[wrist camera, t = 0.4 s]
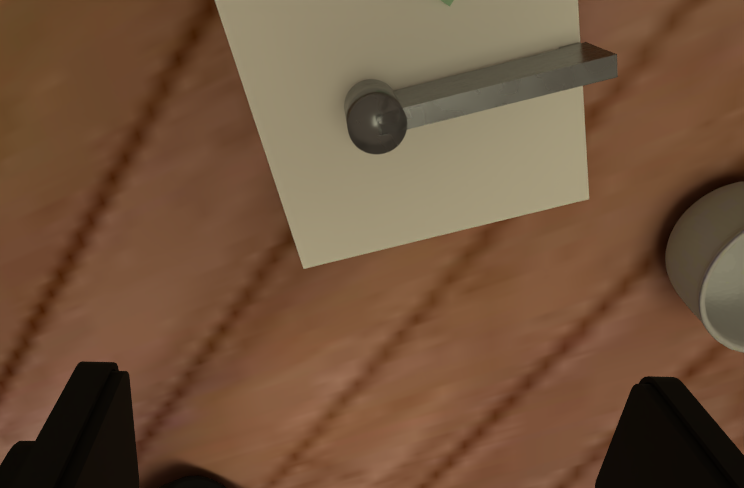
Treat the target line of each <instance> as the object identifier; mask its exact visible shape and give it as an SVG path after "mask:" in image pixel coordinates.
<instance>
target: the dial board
mask: <svg viewBox="0 0 744 488" xmlns="http://www.w3.org/2000/svg"><path fill="white" fill-rule="evenodd" d="M215 3H216V6H217V9H218V12H219V15H220V18H221V21H222V24H223V27H224V30H225V33H226V36H227V39H228V42H229V45H230V48H231V51H232V54H233V57H234V60H235V63H236V66H237V69H238V72H239V75H240V78H241V81H242V84H243V87H244V90H245V93H246V96H247V99H248V102H249V105H250V108H251V111H252V114H253V118H254V121H255V124H256V127H257V130H258V133H259V136H260V139H261V142H262V145H263V148H264V151H265V154H266V157H267V160H268V163H269V166H270V169H271V172H272V175H273V178H274V181H275V184H276V187H277V190H278V193H279V196H280V199H281V202H282V205H283V208H284V211H285V214H286V217H287V220H288V223H289V226H290V229H291V232H292V235H293V238H294V241H295V244H296V247H297V250H298V253H299V256H300V259H301V262H302V265H303V269H305V268H309V267H313V266H317V265H321V264H325V263H330V262H334V261H338V260H342V259H346V258H350V257H354V256H358V255H362V254H366V253H370V252H375V251H379V250H383V249H387V248H391V247H395V246H399V245H403V244H407V243H411V242H415V241H419V240H424V239H428V238H432V237H436V236H440V235H444V234H448V233H452V232H456V231H460V230H464V229H469V228H473V227H477V226H481V225H485V224H489V223H493V222H497V221H501V220H505V219H509V218H514V217H518V216H522V215H526V214H530V213H534V212H538V211H542V210H546V209H550V208H554V207H559V206H563V205H567V204H571V203H575V202H579V201H583V200H587V199H589V187H588V170H587V152H586V135H585V117H584V99H583V86H579V87H575V88H571V89H567V90H563V91H559V92H555V93H551V94H547V95H543V96H539V97H535V98H531V99H527V100H523V101H519V102H515V103H511V104H507V105H503V106H499V107H495V108H491V109H487V110H483V111H479V112H475V113H471V114H467V115H463V116H459V117H455V118H451V119H447V120H443V121H439V122H435V123H431V124H427V125H423V126H419V127H415V128H411V129H407V131H406V134H405V137H404V139H403V140H402V142H401V143H400V144H399V145H398V146H397V147H396V148H395V149H393V150H392V151H390V152H387V153H384V154H369V153H366V152H364V151H362V150H360V149H359V148H357V147H356V146H355V145H354V143H353V142H352V140H351V139H350V136H349V133H348V128H347V122H346V117H345V111H344V102H345V98H346V95H347V93H348V92H349V90H350V89H351V88H352V87H353V86H354V85H355V84H357V83H359V82H361V81H363V80H368V79H376V80H380V81H382V82H384V83H386V84H387V85H389V86H390V87H391V88H392V90H393V91H394V90H398V89H402V88H406V87H410V86H414V85H417V84H421V83H425V82H429V81H433V80H437V79H441V78H445V77H449V76H453V75H457V74H461V73H465V72H469V71H473V70H477V69H481V68H485V67H489V66H493V65H497V64H501V63H505V62H509V61H513V60H517V59H521V58H525V57H529V56H533V55H537V54H541V53H545V52H548V51H552V50H556V49H560V48H564V47H568V46H572V45H576V44H580V29H579V12H578V0H215Z"/></svg>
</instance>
